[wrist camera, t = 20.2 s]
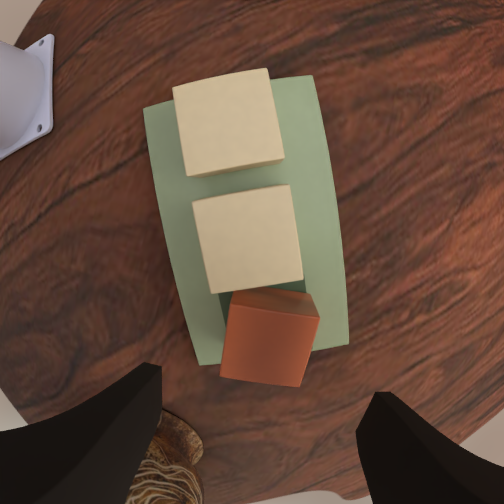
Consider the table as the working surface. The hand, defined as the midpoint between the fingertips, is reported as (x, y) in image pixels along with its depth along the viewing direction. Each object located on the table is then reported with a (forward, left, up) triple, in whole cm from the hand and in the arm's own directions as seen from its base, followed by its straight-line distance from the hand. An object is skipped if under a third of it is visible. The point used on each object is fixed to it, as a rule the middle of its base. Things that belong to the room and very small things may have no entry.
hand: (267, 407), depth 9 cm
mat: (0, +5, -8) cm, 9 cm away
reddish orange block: (0, 0, -7) cm, 7 cm away
